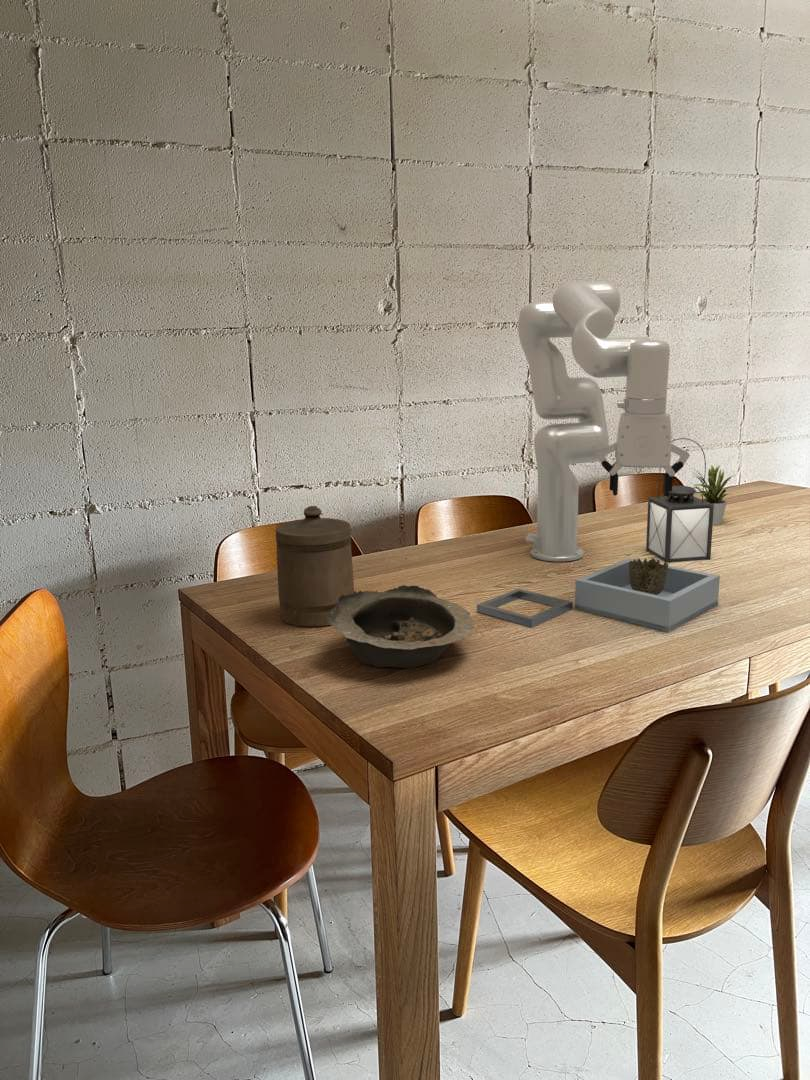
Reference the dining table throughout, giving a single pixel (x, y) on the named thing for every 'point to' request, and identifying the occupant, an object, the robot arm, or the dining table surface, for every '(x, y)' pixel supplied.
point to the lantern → (680, 525)
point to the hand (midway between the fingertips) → (640, 494)
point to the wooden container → (313, 567)
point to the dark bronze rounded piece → (648, 576)
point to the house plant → (714, 493)
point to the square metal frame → (491, 610)
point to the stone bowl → (399, 625)
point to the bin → (647, 596)
